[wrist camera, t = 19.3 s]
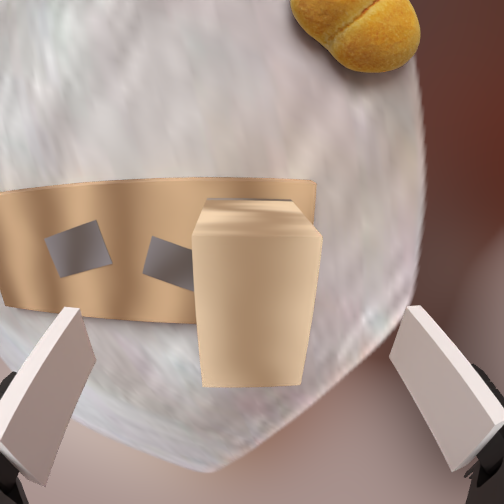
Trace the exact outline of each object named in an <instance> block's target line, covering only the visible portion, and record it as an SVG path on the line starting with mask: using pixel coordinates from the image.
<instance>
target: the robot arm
mask: <svg viewBox="0 0 504 504" xmlns="http://www.w3.org/2000/svg"><path fill="white" fill-rule="evenodd" d="M389 358H390V359H391V361H392V362H393V364H394V366H395V368H396V369H397V371H398V373H399V375H400V376H401V378H402V380H403V381H404V383H405V385H406V387H407V388H408V390H409V392H410V393H411V395H412V397H413V399H414V401H415V402H416V404H417V406H418V408H419V410H420V412H421V413H422V415H423V417H424V419H425V420H426V423H427V424H428V426H429V428H430V430H431V432H432V434H433V436H434V438H435V439H436V441H437V443H438V445H439V447H440V449H441V451H442V453H443V455H444V457H445V459H446V461H447V463H448V465H449V467H450V469H451V471H452V472H453V471H456V470H458V469H459V468H462V467H464V466H465V465H467V464H468V463H469V462H470V461H471V460H472V459H473V458H474V457H475V456H477V458H478V459H479V460H478V461H477V462H476V463H475V464H474V465H473V466H472V467H471V468H470V469H469V470H468V471H467V472H466V473H465V475H464V477H465V478H466V477H467V476H468V475H469V474H470V473H472V472H473V474H472V475H471V476H470V477H469V479H472V480H471V485H470V489H469V493H468V497H467V500H466V504H504V397H503V396H502V394H500V392H499V390H498V389H496V387H495V386H494V384H493V383H492V382H490V379H489V378H488V376H487V375H486V374H485V373H484V371H483V370H481V369H480V368H478V367H477V366H476V365H474V364H470V363H469V362H468V361H467V359H466V358H465V357H464V356H463V354H462V353H461V352H460V351H459V349H458V348H457V347H456V346H455V345H454V344H453V342H452V341H451V340H450V339H449V338H448V336H447V335H446V334H445V333H444V332H443V331H442V329H441V328H440V327H439V326H438V325H437V324H436V322H435V321H434V320H433V319H432V318H431V317H430V316H429V315H428V313H427V312H426V311H425V310H424V309H423V308H422V307H421V306H420V305H419V306H408V307H406V309H405V312H404V315H403V318H402V321H401V325H400V328H399V330H398V333H397V336H396V339H395V342H394V345H393V348H392V350H391V353H390V356H389ZM95 362H96V358H95V355H94V352H93V349H92V346H91V343H90V340H89V337H88V334H87V331H86V328H85V324H84V321H83V318H82V314H81V311H80V308H72V307H64V308H63V309H62V311H61V312H60V313H59V315H58V316H57V317H56V319H55V320H54V321H53V323H52V324H51V325H50V327H49V328H48V329H47V331H46V332H45V333H44V335H43V336H42V338H41V339H40V340H39V342H38V343H37V345H36V346H35V347H34V349H33V350H32V352H31V353H30V355H29V356H28V358H27V359H26V360H25V362H24V363H23V365H22V366H21V368H20V370H19V371H18V373H17V372H12V373H11V374H10V375H8V376H7V377H6V378H5V379H4V380H3V381H2V382H1V384H0V504H29V503H28V500H27V498H26V495H25V492H24V490H23V487H22V484H21V482H20V480H19V478H18V477H17V476H18V473H19V472H20V473H21V474H22V475H23V476H25V477H26V478H27V479H28V480H30V481H32V482H35V483H37V484H39V485H42V486H44V487H45V486H46V483H47V480H48V477H49V474H50V471H51V468H52V466H53V463H54V460H55V457H56V454H57V452H58V449H59V446H60V444H61V441H62V439H63V436H64V433H65V431H66V428H67V426H68V423H69V421H70V418H71V416H72V414H73V411H74V409H75V406H76V404H77V402H78V399H79V397H80V395H81V393H82V390H83V388H84V386H85V384H86V381H87V379H88V377H89V375H90V373H91V371H92V368H93V366H94V364H95Z"/></svg>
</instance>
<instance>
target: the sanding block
mask: <svg viewBox="0 0 504 504" xmlns="http://www.w3.org/2000/svg"><path fill="white" fill-rule="evenodd" d="M322 241H323V237H322V235H321V234H320V233H319V232H318V231H317V229H316V228H315V227H314V226H313V225H312V223H311V222H310V221H309V220H308V219H307V218H306V216H305V215H304V214H303V213H302V212H301V211H300V209H299V208H298V207H297V206H296V205H295V204H294V202H293V201H292V200H291V199H257V198H207V199H206V202H205V204H204V207H203V209H202V211H201V214H200V216H199V219H198V221H197V223H196V226H195V228H194V231H193V233H192V259H193V278H194V294H195V308H196V322H197V334H198V345H199V356H200V366H201V375H202V385H203V387H273V386H292V385H300V384H301V379H302V374H303V369H304V363H305V358H306V352H307V346H308V341H309V335H310V328H311V322H312V316H313V309H314V303H315V296H316V289H317V281H318V274H319V266H320V258H321V250H322Z"/></svg>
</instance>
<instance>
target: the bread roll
mask: <svg viewBox="0 0 504 504" xmlns="http://www.w3.org/2000/svg"><path fill="white" fill-rule="evenodd" d="M290 6H291V9H292V13H293V15H294V17H295V18H296V20H297V22H298V23H299V24H300V26H301V27H302V28H303V29H304V30H305V31H306V33H308V34H309V35H310V36H311V37H313V38H314V39H315V40H317V41H318V42H319V43H320V44H322V45H323V46H324V47H325V48H326V49H327V50H328V51H329V52H330V53H331V55H332V56H333V57H334V58H335V59H336V60H337V61H338V62H340V63H341V64H342V65H343V66H345V67H346V68H348V69H350V70H353V71H358V72H368V73H380V72H386V71H390V70H394V69H397V68H399V67H401V66H403V65H404V64H405V63H407V62H408V61H409V60H410V59H411V57H412V56H413V55H414V54H415V52H416V50H417V48H418V45H419V41H420V26H419V22H418V19H417V16H416V13H415V11H414V8H413V7H412V5H411V3H410V2H409V0H290Z"/></svg>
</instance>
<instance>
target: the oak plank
mask: <svg viewBox="0 0 504 504" xmlns="http://www.w3.org/2000/svg"><path fill="white" fill-rule="evenodd" d="M316 185H317V184H316V183H315V182H313V181H311V180H298V179H275V178H234V177H192V178H152V179H130V180H112V181H98V182H85V183H73V184H63V185H53V186H44V187H35V188H27V189H19V190H12V191H5V192H0V291H1V294H2V297H3V300H4V303H5V306H9V307H15V308H21V309H28V310H35V311H43V312H50V313H58V314H59V313H60V312H61V311H62V309H63V308H64V307H72V308H80V311H81V314H82V316H85V317H95V318H106V319H118V320H132V321H147V322H165V323H188V324H197V322H196V308H195V294H194V278H193V259H192V233H193V231H194V228H195V226H196V223H197V221H198V219H199V216H200V214H201V211H202V209H203V207H204V204H205V202H206V199H207V198H257V199H291V200H292V201H293V202H294V204H295V205H296V206H297V207H298V208H299V209H300V211H301V212H302V213H303V214H304V215H305V216H306V218H307V219H308V220H309V221H310V222H311V223H312V225H313V222H314V210H315V198H316Z"/></svg>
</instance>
